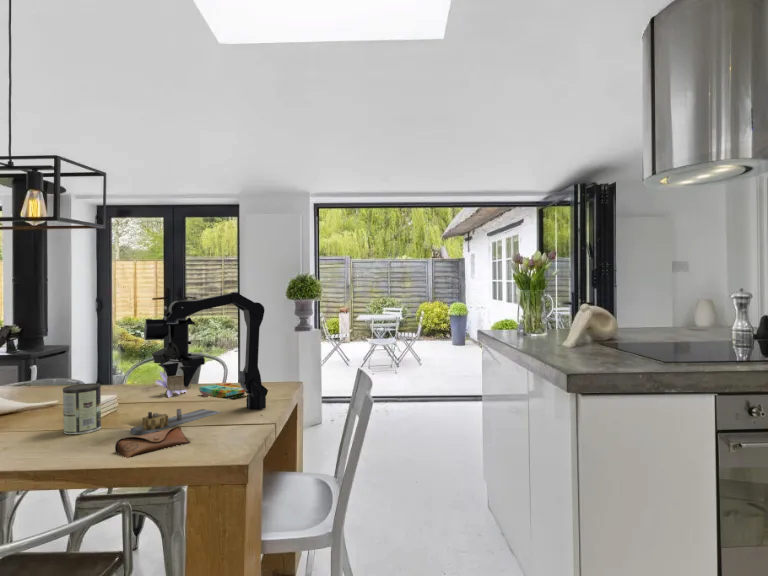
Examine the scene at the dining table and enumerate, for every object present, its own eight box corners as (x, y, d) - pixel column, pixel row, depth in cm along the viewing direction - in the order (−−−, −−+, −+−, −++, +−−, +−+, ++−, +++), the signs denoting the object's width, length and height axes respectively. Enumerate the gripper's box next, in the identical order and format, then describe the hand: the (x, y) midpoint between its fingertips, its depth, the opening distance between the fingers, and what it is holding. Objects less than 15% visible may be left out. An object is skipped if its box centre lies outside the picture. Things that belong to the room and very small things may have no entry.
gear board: (222, 416, 162) (221, 398, 163) (150, 437, 139) (150, 416, 139) (202, 413, 167) (202, 395, 167) (130, 433, 144) (130, 413, 144)
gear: (195, 387, 155) (195, 375, 155) (176, 391, 149) (176, 379, 149) (181, 385, 158) (181, 374, 158) (162, 389, 152) (162, 377, 152)
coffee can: (82, 425, 154) (82, 382, 154) (108, 426, 152) (108, 383, 152) (54, 434, 144) (54, 388, 144) (81, 436, 142) (81, 390, 142)
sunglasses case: (125, 459, 121) (120, 434, 123) (117, 467, 125) (113, 443, 127) (193, 442, 134) (187, 420, 136) (184, 450, 138) (179, 428, 140)
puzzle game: (223, 380, 207) (250, 385, 194) (223, 391, 207) (250, 397, 194) (199, 385, 197) (225, 390, 185) (199, 396, 197) (225, 402, 185)
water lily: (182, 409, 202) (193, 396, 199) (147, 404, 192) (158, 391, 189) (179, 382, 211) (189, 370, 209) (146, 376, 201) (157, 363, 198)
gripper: (138, 339, 151) (138, 387, 151) (175, 341, 142) (175, 392, 142) (169, 336, 161) (169, 381, 161) (205, 338, 152) (205, 386, 152)
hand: (179, 385), depth 154 cm, fingers closed on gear, 7 cm apart
